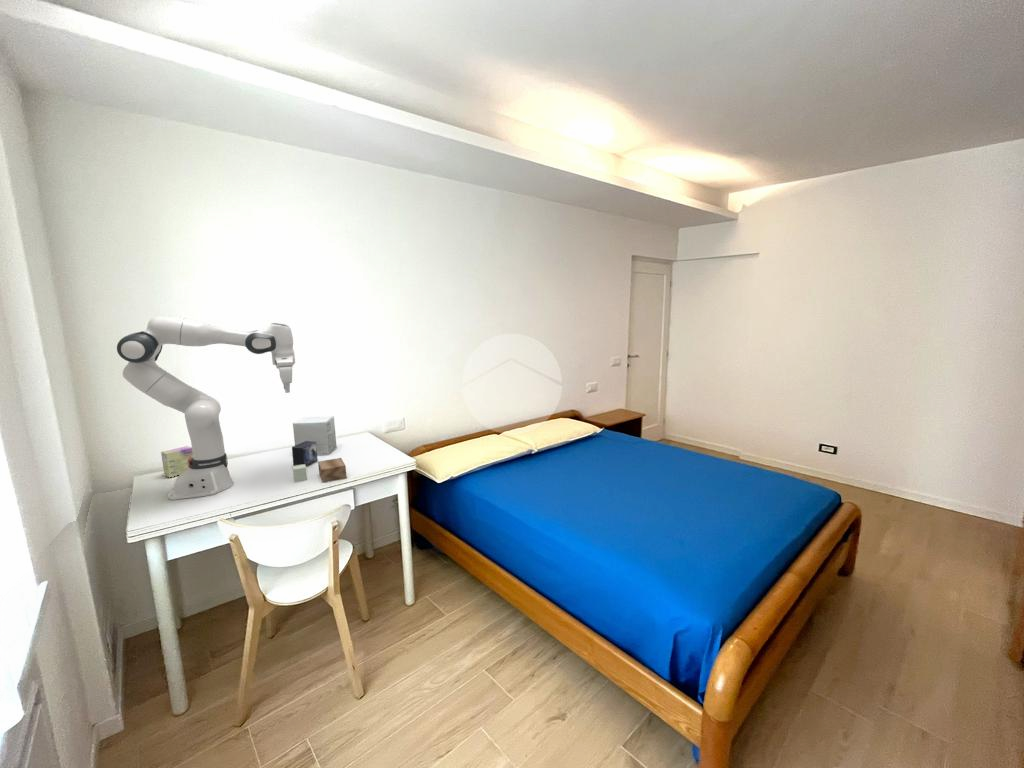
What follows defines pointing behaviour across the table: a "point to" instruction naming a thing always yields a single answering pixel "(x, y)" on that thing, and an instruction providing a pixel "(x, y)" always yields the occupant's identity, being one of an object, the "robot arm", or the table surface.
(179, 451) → the box
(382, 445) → the table surface
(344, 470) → the walnut block
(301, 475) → the sage block
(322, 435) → the supplement box
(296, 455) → the small box
